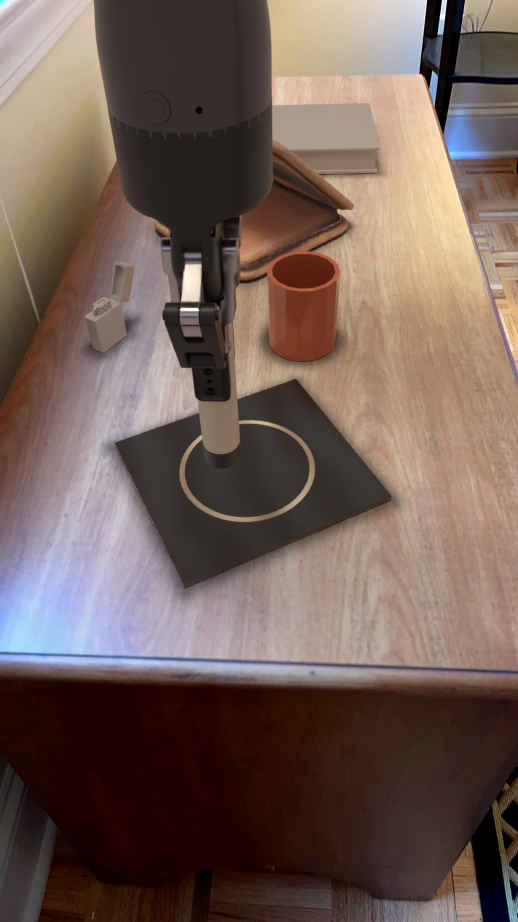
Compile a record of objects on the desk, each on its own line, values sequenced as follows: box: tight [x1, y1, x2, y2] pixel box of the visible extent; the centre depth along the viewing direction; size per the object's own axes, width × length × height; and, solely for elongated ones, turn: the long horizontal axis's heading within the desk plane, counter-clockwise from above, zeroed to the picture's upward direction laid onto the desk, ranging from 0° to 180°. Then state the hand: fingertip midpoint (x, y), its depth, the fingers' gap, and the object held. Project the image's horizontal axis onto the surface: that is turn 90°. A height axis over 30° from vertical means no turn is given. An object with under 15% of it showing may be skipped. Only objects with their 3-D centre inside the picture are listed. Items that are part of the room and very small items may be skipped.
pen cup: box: [266, 250, 341, 362], centre depth 74 cm, size 7×7×9 cm
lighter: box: [84, 260, 135, 354], centre depth 76 cm, size 7×2×8 cm, turn 146°
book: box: [272, 102, 380, 175], centre depth 109 cm, size 18×4×24 cm
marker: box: [197, 323, 241, 469], centre depth 45 cm, size 3×3×12 cm
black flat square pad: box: [114, 378, 392, 589], centre depth 64 cm, size 20×18×1 cm
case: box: [153, 139, 355, 281], centre depth 88 cm, size 20×21×16 cm
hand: (216, 379), depth 44 cm, fingers closed on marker, 2 cm apart
